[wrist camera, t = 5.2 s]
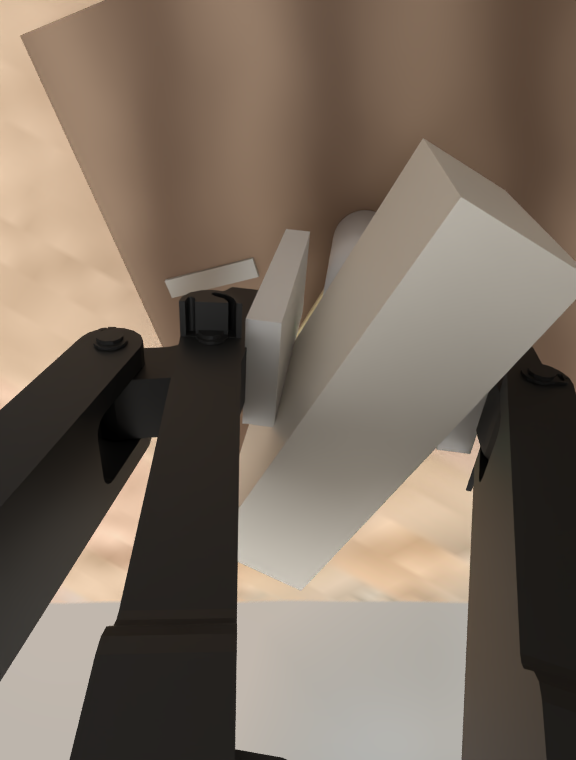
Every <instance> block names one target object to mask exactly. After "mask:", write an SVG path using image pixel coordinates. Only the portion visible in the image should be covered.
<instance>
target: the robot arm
mask: <svg viewBox="0 0 576 760" xmlns="http://www.w3.org/2000/svg"><path fill="white" fill-rule="evenodd" d="M309 238H310V232H309V231H300V230H291V229H286V230H285V233H284V235H283V237H282V239H281V241H280V244H279V246H278V248H277V250H276V252H275V255H274V257H273V259H272V261H271V264H270V266H269V268H268V270H267V272H266V275H265V277H264V279H263V281H262V284H261V286H260V288H259V290H255V289H246V288H238V287H231V288H229V289H227V290H225V291H219V290H199V291H195V292H190V293H188V294H186V295H184V296H182V297H181V299H180V300H179V318H180V340H179V344H178V345H175V346H170V347H160V348H144V346H143V339H142V337H141V335H140V334H138V333H136V332H135V331H132V330H129V329H125V328H116V327H108V328H100V329H99V330H96V331H92V332H89V333H87V334H86V335H84V336H82V337H81V338H80V339H79V340H77V341H76V342H75V343H74V344H73V345H72V346H71V347H70V348H69V349H67V350H66V351H65V352H64V353H63V354H62V355H61V356H60V357H59V358H57V359H56V360H55V361H54V362H53V363H52V364H51V365H50V366H49V367H48V368H46V369H45V370H44V371H43V372H42V373H41V374H40V375H39V376H38V377H36V378H35V379H34V380H33V381H32V382H31V383H30V384H29V385H28V386H26V387H25V388H24V389H23V390H22V391H21V392H20V393H19V394H18V395H16V396H15V397H14V398H13V399H12V400H11V401H10V402H9V403H8V404H6V405H5V406H4V407H3V408H2V409H1V410H0V681H1V679H2V678H3V676H4V675H5V673H6V671H7V670H8V668H9V667H10V665H11V663H12V662H13V660H14V659H15V657H16V655H17V654H18V652H19V651H20V649H21V648H22V646H23V644H24V643H25V641H26V640H27V638H28V637H29V635H30V633H31V632H32V630H33V628H34V627H35V625H36V624H37V622H38V621H39V619H40V618H41V616H42V614H43V613H44V611H45V610H46V608H47V606H48V605H49V603H50V602H51V600H52V599H53V597H54V595H55V594H56V592H57V591H58V589H59V587H60V586H61V584H62V583H63V581H64V580H65V578H66V576H67V575H68V573H69V572H70V570H71V568H72V567H73V565H74V564H75V562H76V561H77V559H78V557H79V556H80V554H81V553H82V551H83V549H84V548H85V546H86V545H87V543H88V542H89V540H90V538H91V537H92V535H93V534H94V532H95V530H96V529H97V527H98V526H99V524H100V523H101V521H102V519H103V518H104V516H105V515H106V513H107V511H108V510H109V508H110V507H111V505H112V504H113V502H114V500H115V499H116V497H117V496H118V494H119V492H120V491H121V489H122V488H123V486H124V485H125V483H126V481H127V480H128V478H129V477H130V475H131V473H132V472H133V470H134V469H135V467H136V466H137V464H138V462H139V461H140V459H141V458H142V456H143V454H144V453H145V451H146V450H147V448H148V447H149V445H150V441H151V437H158V438H157V443H156V447H155V452H154V456H153V461H152V465H151V470H150V474H149V479H148V483H147V488H146V492H145V497H144V501H143V505H142V510H141V514H140V519H139V523H138V528H137V532H136V537H135V541H134V546H133V550H132V555H131V559H130V564H129V568H128V573H127V577H126V582H125V586H124V591H123V595H122V600H121V604H120V609H119V613H118V616H117V620H116V622H115V624H114V626H108V627H106V628H105V630H104V632H103V634H102V636H101V638H100V641H99V645H98V648H97V651H96V654H95V659H94V662H93V667H92V671H91V675H90V679H89V683H88V688H87V691H86V695H85V699H84V703H83V707H82V711H81V715H80V720H79V724H78V728H77V732H76V736H75V740H74V744H73V748H72V752H71V756H70V760H286V759H284V758H281V757H274V756H269V755H264V754H258V753H252V752H247V751H241V750H235V720H236V656H237V571H238V512H239V453H240V414H241V411H242V409H243V421H242V423H244V424H251V425H259V426H266V427H273V425H274V424H275V420H276V416H277V412H278V408H279V403H280V399H281V395H282V391H283V387H284V383H285V379H286V375H287V371H288V367H289V363H290V359H291V355H292V351H293V347H294V343H295V340H296V337H297V332H298V328H299V324H300V320H301V316H302V312H303V303H304V292H305V281H306V271H307V260H308V249H309ZM476 435H477V436H478V439H479V443H480V446H481V447H480V450H479V453H478V456H477V459H476V462H475V465H474V467H473V470H472V473H471V476H470V479H469V482H468V485H467V488H466V490H467V491H471V490H472V488H473V509H472V532H471V555H470V579H469V602H468V626H467V648H466V673H465V694H464V717H463V741H462V760H576V392H575V388H574V384H573V383H572V381H571V380H570V378H569V377H568V376H566V375H565V374H564V373H562V372H561V371H559V370H557V369H555V368H553V367H551V366H548V365H544V364H542V363H541V361H540V359H539V357H538V355H537V354H536V352H535V350H534V348H533V347H532V346H531V348H530V349H529V350H528V351H527V352H526V353H525V354H524V355H523V356H522V357H521V358H520V359H519V360H518V361H517V362H516V363H515V364H514V366H513V367H512V368H511V369H510V370H509V371H508V372H507V373H506V374H505V375H504V376H503V377H502V378H501V379H500V380H499V381H498V383H497V384H496V385H495V386H494V387H493V388H492V389H491V390H490V391H489V392H488V393H487V394H486V395H485V396H484V397H483V398H482V400H481V401H480V402H479V403H478V404H477V405H476V406H475V407H474V408H473V409H472V410H471V411H470V412H469V413H468V414H467V415H466V416H465V418H464V419H463V420H462V421H461V422H460V423H459V424H458V425H457V426H456V427H455V428H454V429H453V430H452V431H451V432H450V433H449V435H448V436H447V437H446V438H445V439H444V440H443V441H442V442H441V443H440V444H439V445H438V446H437V447H436V448H437V449H438V450H445V451H453V452H460V453H467V454H470V453H471V450H472V447H473V444H474V441H475V438H476Z"/></svg>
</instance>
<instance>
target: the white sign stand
mask: <svg viewBox="0 0 576 760" xmlns="http://www.w3.org/2000/svg"><path fill="white" fill-rule="evenodd" d="M575 300H576V262H575V261H574V260H573V259H572V258H571V256H570V255H569V254H568V253H567V252H566V251H565V250H564V249H563V248H562V247H561V246H560V245H559V244H558V243H557V242H556V241H555V240H554V239H553V238H552V237H551V236H550V235H549V234H548V233H547V232H546V231H545V230H544V229H543V228H542V227H541V226H540V225H539V224H538V223H537V222H536V221H535V220H534V219H533V218H532V217H531V216H530V215H529V214H528V213H527V212H526V211H525V210H524V209H523V208H522V207H521V206H520V205H519V204H518V203H517V202H516V201H515V200H514V199H513V198H512V197H511V196H510V195H509V194H508V193H507V192H506V191H505V190H504V189H502V188H501V187H499V186H497V185H496V184H494V183H493V182H491V181H490V180H488V179H487V178H485V177H483V176H482V175H480V174H479V173H477V172H476V171H474V170H472V169H471V168H469V167H468V166H466V165H465V164H463V163H461V162H460V161H458V160H457V159H455V158H454V157H452V156H450V155H449V154H447V153H446V152H444V151H443V150H441V149H440V148H438V147H436V146H435V145H433V144H432V143H430V142H429V141H427V140H425V139H424V138H423V139H422V140H421V142H420V144H419V145H418V147H417V148H416V150H415V152H414V153H413V155H412V156H411V158H410V159H409V161H408V163H407V164H406V166H405V167H404V169H403V171H402V172H401V174H400V175H399V177H398V178H397V180H396V182H395V183H394V185H393V186H392V188H391V189H390V191H389V193H388V194H387V196H386V197H385V199H384V201H383V202H382V204H381V205H380V207H379V208H378V210H377V212H374V211H370V210H361V211H356V212H353V213H351V214H349V215H348V216H346V217H345V218H344V219H342V221H341V222H340V223H339V224H338V226H337V228H336V230H335V232H334V236H333V241H332V247H331V252H330V258H329V264H328V269H327V275H326V281H325V286H324V289H323V291H322V292H321V294H320V295H319V297H318V299H317V300H316V302H315V303H314V305H313V307H312V308H311V310H310V311H309V313H308V315H307V316H306V318H305V319H304V321H303V323H302V324H301V326H300V327H299V329H298V332H297V337H296V340H295V343H294V347H293V351H292V355H291V359H290V363H289V367H288V371H287V375H286V379H285V383H284V387H283V391H282V395H281V399H280V403H279V408H278V412H277V416H276V420H275V424H274V425H273V427H266V426H259V425H251V424H249V426H248V429H247V432H246V436H245V439H244V442H243V445H242V448H241V452H240V455H239V512H238V562H239V563H242V564H244V565H246V566H248V567H250V568H252V569H255V570H257V571H259V572H261V573H263V574H266V575H268V576H270V577H272V578H274V579H276V580H279V581H281V582H283V583H285V584H287V585H290V586H292V587H294V588H296V589H298V590H300V591H301V590H302V589H303V588H304V587H305V586H306V585H307V584H308V583H309V582H310V581H311V580H312V579H313V578H314V577H315V576H316V575H317V574H318V572H319V571H320V570H321V569H322V568H323V567H324V566H325V565H326V564H327V563H328V562H329V561H330V560H331V559H332V558H333V557H334V555H335V554H336V553H337V552H338V551H339V550H340V549H341V548H342V547H343V546H344V545H345V544H346V543H347V542H348V541H349V540H350V539H351V537H352V536H353V535H354V534H355V533H356V532H357V531H358V530H359V529H360V528H361V527H362V526H363V525H364V524H365V523H366V522H367V520H368V519H369V518H370V517H371V516H372V515H373V514H374V513H375V512H376V511H377V510H378V509H379V508H380V507H381V506H382V505H383V503H384V502H385V501H386V500H387V499H388V498H389V497H390V496H391V495H392V494H393V493H394V492H395V491H396V490H397V489H398V488H399V487H400V485H401V484H402V483H403V482H404V481H405V480H406V479H407V478H408V477H409V476H410V475H411V474H412V473H413V472H414V471H415V470H416V468H417V467H418V466H419V465H420V464H421V463H422V462H423V461H424V460H425V459H426V458H427V457H428V456H429V455H430V454H431V453H432V451H433V450H434V449H435V448H436V447H437V446H438V445H439V444H440V443H441V442H442V441H443V440H444V439H445V438H446V437H447V436H448V435H449V433H450V432H451V431H452V430H453V429H454V428H455V427H456V426H457V425H458V424H459V423H460V422H461V421H462V420H463V419H464V418H465V416H466V415H467V414H468V413H469V412H470V411H471V410H472V409H473V408H474V407H475V406H476V405H477V404H478V403H479V402H480V401H481V400H482V398H483V397H484V396H485V395H486V394H487V393H488V392H489V391H490V390H491V389H492V388H493V387H494V386H495V385H496V384H497V383H498V381H499V380H500V379H501V378H502V377H503V376H504V375H505V374H506V373H507V372H508V371H509V370H510V369H511V368H512V367H513V366H514V364H515V363H516V362H517V361H518V360H519V359H520V358H521V357H522V356H523V355H524V354H525V353H526V352H527V351H528V350H529V349H530V348H531V346H532V345H533V344H534V343H535V342H536V341H537V340H538V339H539V338H540V337H541V336H542V335H543V334H544V333H545V332H546V331H547V329H548V328H549V327H550V326H551V325H552V324H553V323H554V322H555V321H556V320H557V319H558V318H559V317H560V316H561V315H562V314H563V312H564V311H565V310H566V309H567V308H568V307H569V306H570V305H571V304H572V303H573V302H574V301H575Z"/></svg>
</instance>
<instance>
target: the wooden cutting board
mask: <svg viewBox="0 0 576 760" xmlns="http://www.w3.org/2000/svg"><path fill="white" fill-rule="evenodd" d="M21 39H22V41H23V43H24V45H25V47H26V49H27V52H28V54H29V56H30V58H31V60H32V63H33V65H34V67H35V69H36V71H37V73H38V76H39V78H40V80H41V82H42V84H43V87H44V89H45V91H46V93H47V95H48V97H49V100H50V102H51V104H52V106H53V108H54V111H55V113H56V115H57V117H58V119H59V122H60V124H61V126H62V128H63V130H64V132H65V135H66V137H67V139H68V141H69V143H70V146H71V148H72V150H73V152H74V154H75V156H76V159H77V161H78V163H79V165H80V167H81V170H82V172H83V174H84V176H85V178H86V180H87V183H88V185H89V187H90V189H91V191H92V194H93V196H94V198H95V200H96V202H97V204H98V207H99V209H100V211H101V213H102V215H103V218H104V220H105V222H106V224H107V226H108V228H109V231H110V233H111V235H112V237H113V239H114V242H115V244H116V246H117V248H118V250H119V252H120V255H121V257H122V259H123V261H124V263H125V266H126V268H127V270H128V272H129V274H130V276H131V279H132V281H133V283H134V285H135V287H136V290H137V292H138V294H139V296H140V298H141V300H142V303H143V305H144V307H145V309H146V311H147V314H148V316H149V318H150V320H151V322H152V325H153V327H154V329H155V331H156V333H157V335H158V338H159V340H160V342H161V344H162V346H163V347H170V346H175V345H178V344H179V340H180V318H179V300H180V299H181V297H182V296H184V295H186V294H188V293H190V292H195V291H199V290H219V291H225V290H227V289H229V288H231V287H238V288H246V289H255V290H259V288H260V286H261V284H262V281H263V279H264V277H265V275H266V272H267V270H268V268H269V266H270V264H271V261H272V259H273V257H274V255H275V252H276V250H277V248H278V246H279V244H280V241H281V239H282V237H283V235H284V233H285V230H286V229H291V230H300V231H309V232H310V238H309V249H308V260H307V271H306V281H305V292H304V303H303V312H302V316H301V320H300V324H299V327H300V326H301V324H302V323H303V321H304V319H305V318H306V316H307V315H308V313H309V311H310V310H311V308H312V307H313V305H314V303H315V302H316V300H317V299H318V297H319V295H320V294H321V292H322V291H323V289H324V286H325V281H326V275H327V269H328V264H329V258H330V252H331V247H332V241H333V236H334V232H335V230H336V228H337V226H338V224H339V223H340V222H341V221H342V219H344V218H345V217H346V216H348V215H349V214H351V213H353V212H356V211H361V210H370V211H374V212H377V210H378V208H379V207H380V205H381V204H382V202H383V201H384V199H385V197H386V196H387V194H388V193H389V191H390V189H391V188H392V186H393V185H394V183H395V182H396V180H397V178H398V177H399V175H400V174H401V172H402V171H403V169H404V167H405V166H406V164H407V163H408V161H409V159H410V158H411V156H412V155H413V153H414V152H415V150H416V148H417V147H418V145H419V144H420V142H421V140H422V139H423V138H424V139H425V140H427V141H429V142H430V143H432V144H433V145H435V146H436V147H438V148H440V149H441V150H443V151H444V152H446V153H447V154H449V155H450V156H452V157H454V158H455V159H457V160H458V161H460V162H461V163H463V164H465V165H466V166H468V167H469V168H471V169H472V170H474V171H476V172H477V173H479V174H480V175H482V176H483V177H485V178H487V179H488V180H490V181H491V182H493V183H494V184H496V185H497V186H499V187H501V188H502V189H504V190H505V191H506V192H507V193H508V194H509V195H510V196H511V197H512V198H513V199H514V200H515V201H516V202H517V203H518V204H519V205H520V206H521V207H522V208H523V209H524V210H525V211H526V212H527V213H528V214H529V215H530V216H531V217H532V218H533V219H534V220H535V221H536V222H537V223H538V224H539V225H540V226H541V227H542V228H543V229H544V230H545V231H546V232H547V233H548V234H549V235H550V236H551V237H552V238H553V239H554V240H555V241H556V242H557V243H558V244H559V245H560V246H561V247H562V248H563V249H564V250H565V251H566V252H567V253H568V254H569V255H570V256H571V258H572V259H573V260H574V261H575V262H576V0H105V1H102V2H100V3H97V4H95V5H93V6H90V7H88V8H85V9H83V10H81V11H78V12H76V13H73V14H71V15H69V16H66V17H64V18H61V19H59V20H57V21H54V22H52V23H49V24H47V25H45V26H42V27H40V28H37V29H35V30H33V31H30V32H28V33H25V34H23V35H21ZM298 329H299V328H298ZM532 347H533V348H534V350H535V352H536V354H537V355H538V357H539V359H540V361H541V363H542V364H544V365H548V366H551V367H553V368H555V369H557V370H559V371H561V372H562V373H564V374H565V375H566V376H568V377H569V378H570V380H571V381H572V383H573V384H574V388H575V392H576V300H575V301H574V302H573V303H572V304H571V305H570V306H569V307H568V308H567V309H566V310H565V311H564V312H563V314H562V315H561V316H560V317H559V318H558V319H557V320H556V321H555V322H554V323H553V324H552V325H551V326H550V327H549V328H548V329H547V331H546V332H545V333H544V334H543V335H542V336H541V337H540V338H539V339H538V340H537V341H536V342H535V343H534V344H533V345H532ZM242 421H243V409H242V411H241V414H240V452H241V448H242V445H243V442H244V439H245V436H246V432H247V429H248V426H249V424H244V423H242ZM239 455H240V453H239Z"/></svg>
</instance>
